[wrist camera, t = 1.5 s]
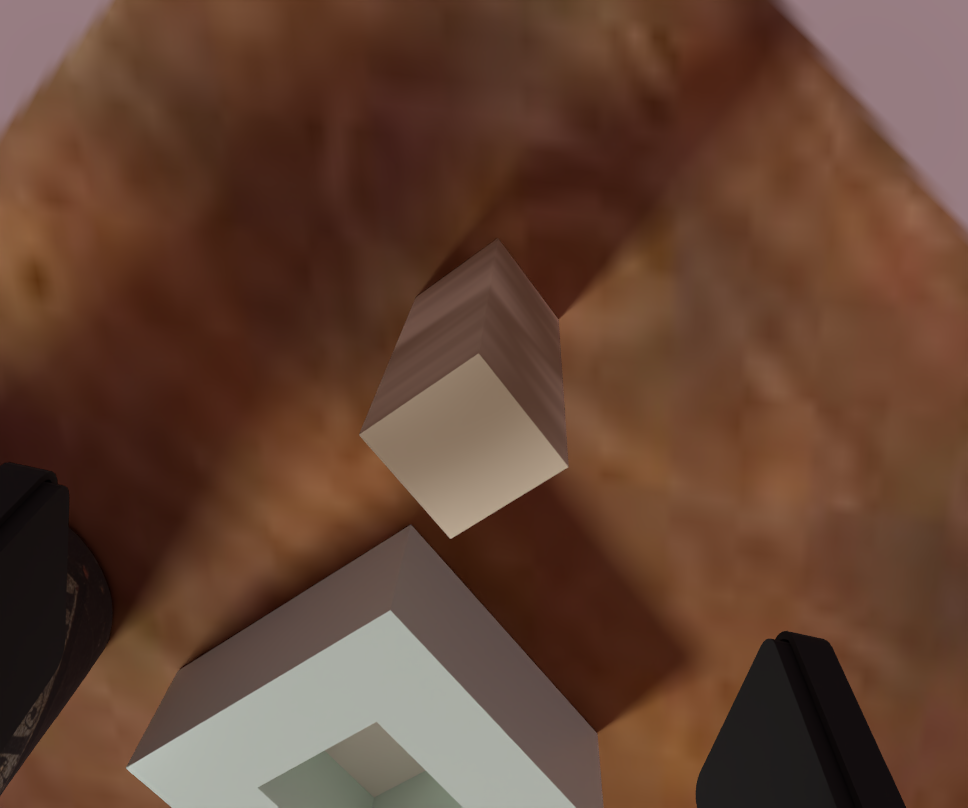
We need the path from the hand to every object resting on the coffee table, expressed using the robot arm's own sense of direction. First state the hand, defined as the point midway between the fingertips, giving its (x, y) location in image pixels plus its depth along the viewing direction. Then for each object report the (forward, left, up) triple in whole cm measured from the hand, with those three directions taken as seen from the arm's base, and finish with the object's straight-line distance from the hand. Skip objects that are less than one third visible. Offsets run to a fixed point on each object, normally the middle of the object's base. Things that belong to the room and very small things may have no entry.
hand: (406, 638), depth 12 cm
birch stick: (-1, 0, -15) cm, 15 cm away
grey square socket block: (-11, +12, -15) cm, 22 cm away
